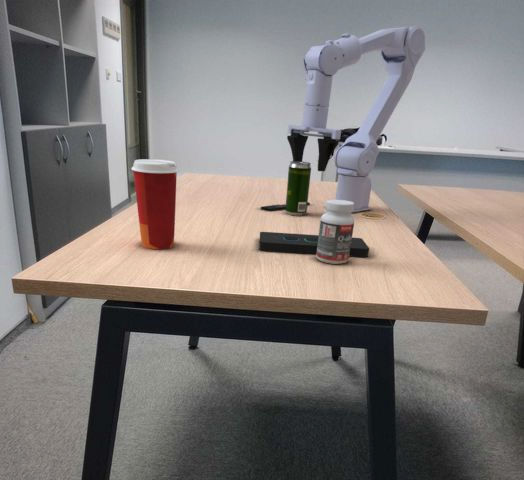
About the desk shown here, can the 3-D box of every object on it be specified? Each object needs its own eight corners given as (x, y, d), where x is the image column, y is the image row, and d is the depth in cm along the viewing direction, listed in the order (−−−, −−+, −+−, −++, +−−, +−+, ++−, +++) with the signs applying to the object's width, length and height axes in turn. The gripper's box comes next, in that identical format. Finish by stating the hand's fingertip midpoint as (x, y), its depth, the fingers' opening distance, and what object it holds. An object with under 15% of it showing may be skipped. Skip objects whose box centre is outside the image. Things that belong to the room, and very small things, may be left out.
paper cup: (187, 243, 87) (186, 162, 80) (166, 253, 80) (163, 165, 74) (149, 237, 89) (146, 157, 82) (126, 246, 82) (120, 160, 76)
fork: (303, 203, 131) (303, 201, 131) (311, 205, 129) (311, 203, 129) (260, 209, 120) (260, 206, 120) (268, 211, 118) (269, 208, 118)
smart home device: (259, 230, 92) (361, 237, 92) (259, 239, 93) (360, 245, 93) (259, 241, 84) (370, 248, 85) (259, 250, 85) (368, 257, 86)
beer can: (310, 215, 117) (316, 163, 112) (295, 216, 114) (300, 164, 108) (296, 210, 121) (300, 160, 115) (280, 212, 118) (284, 161, 112)
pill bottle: (340, 266, 80) (349, 206, 75) (310, 259, 82) (317, 201, 78) (353, 259, 84) (362, 202, 79) (324, 253, 87) (331, 197, 82)
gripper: (281, 103, 111) (276, 165, 117) (331, 107, 102) (322, 173, 108) (301, 105, 115) (294, 164, 121) (349, 109, 107) (340, 172, 113)
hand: (309, 168), depth 115 cm, fingers open, 7 cm apart
